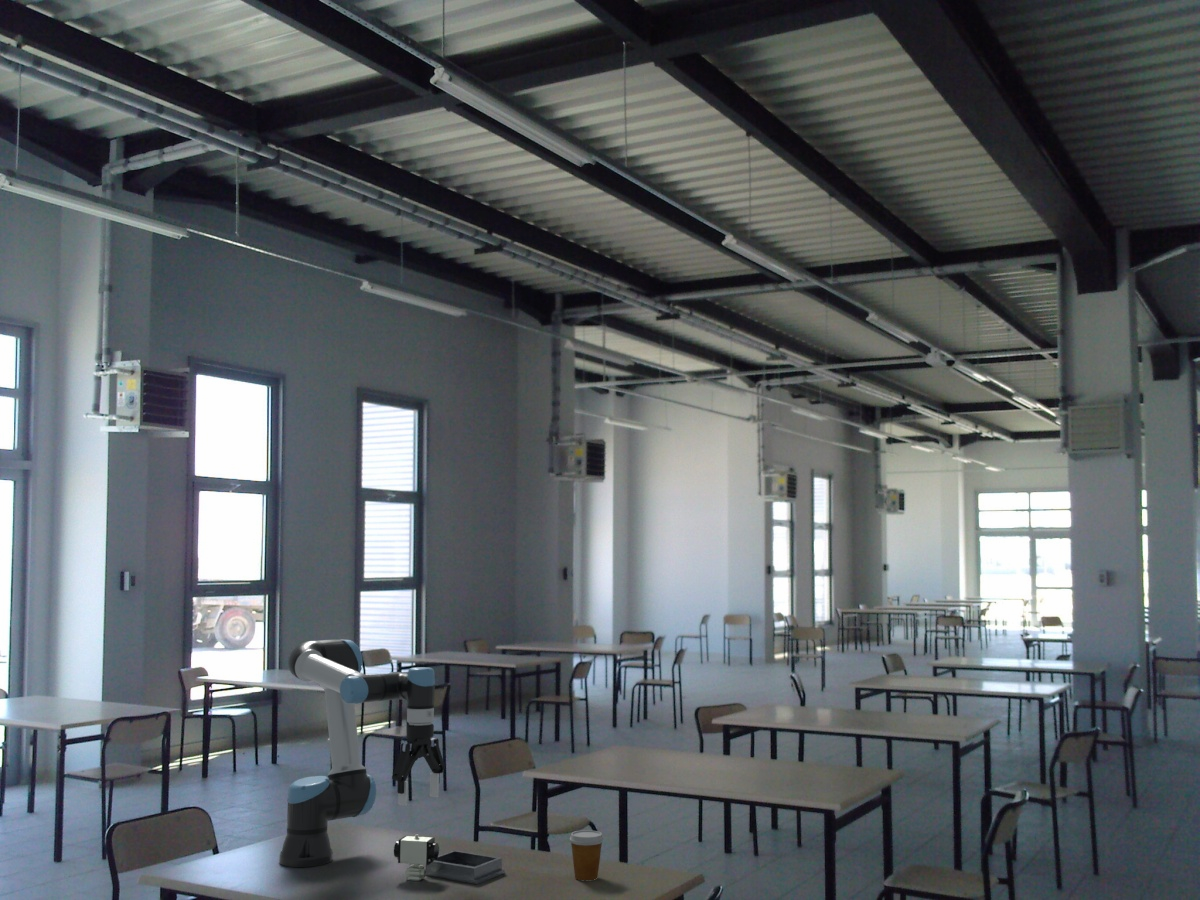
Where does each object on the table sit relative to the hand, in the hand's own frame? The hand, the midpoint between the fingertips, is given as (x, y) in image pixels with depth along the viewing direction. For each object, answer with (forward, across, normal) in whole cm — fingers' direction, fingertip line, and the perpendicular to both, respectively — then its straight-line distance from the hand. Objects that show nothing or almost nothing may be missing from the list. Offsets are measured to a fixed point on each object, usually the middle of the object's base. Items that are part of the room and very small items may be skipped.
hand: (418, 801), depth 299 cm
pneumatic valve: (+21, 0, 0) cm, 21 cm away
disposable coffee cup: (+21, +25, -40) cm, 52 cm away
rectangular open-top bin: (+21, +11, -8) cm, 25 cm away
